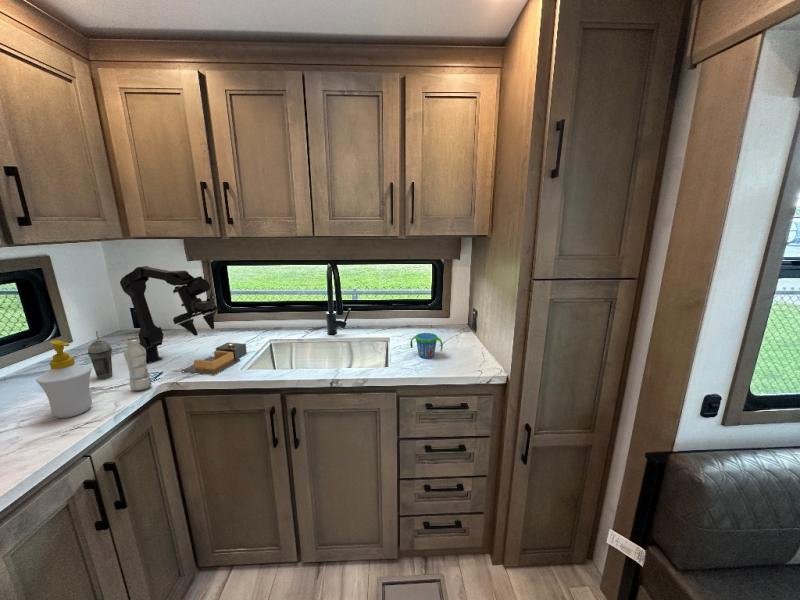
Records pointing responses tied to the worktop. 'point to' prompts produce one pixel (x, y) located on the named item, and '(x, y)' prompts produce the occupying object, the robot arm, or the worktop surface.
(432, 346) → the snack cup
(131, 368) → the plastic bottle
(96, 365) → the beverage cup
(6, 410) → the worktop surface
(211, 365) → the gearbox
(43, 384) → the soap bottle
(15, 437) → the worktop surface
